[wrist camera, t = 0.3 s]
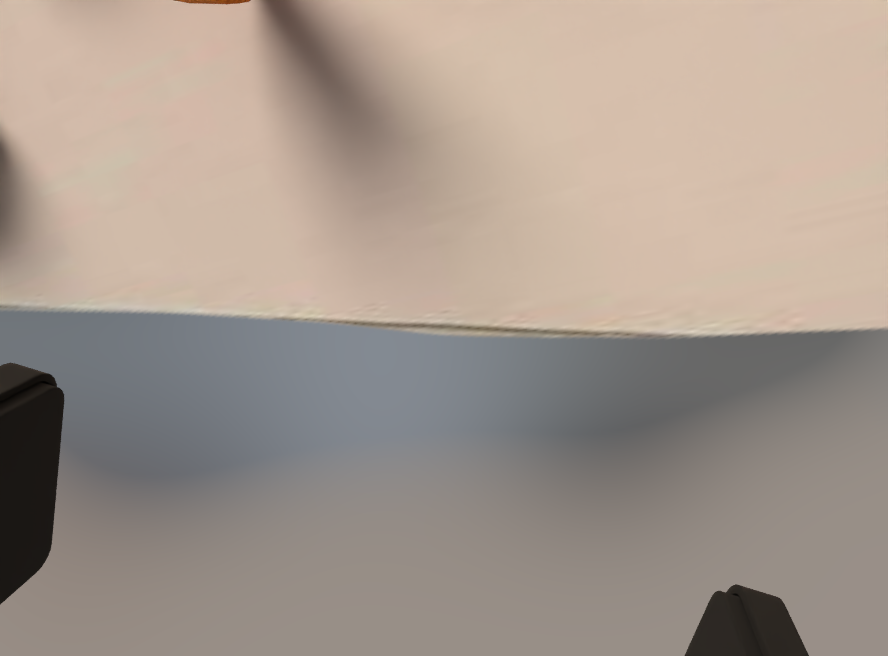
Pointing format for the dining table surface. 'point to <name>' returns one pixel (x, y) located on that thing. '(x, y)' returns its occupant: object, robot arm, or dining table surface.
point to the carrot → (214, 1)
